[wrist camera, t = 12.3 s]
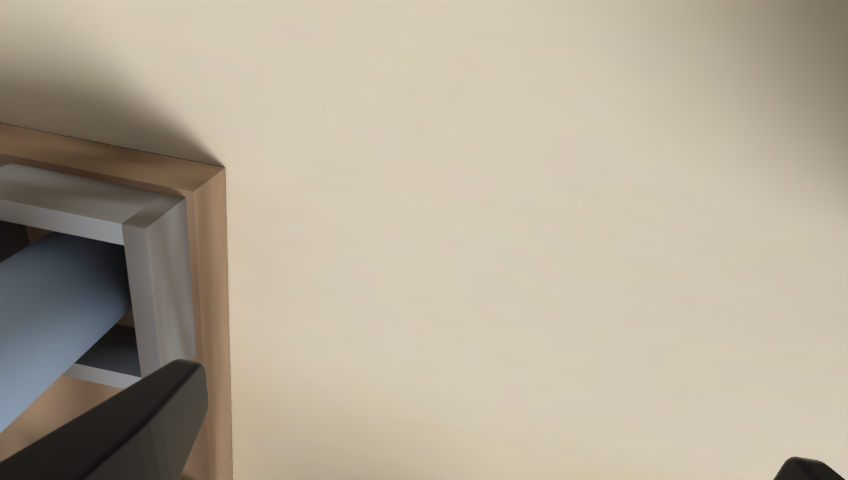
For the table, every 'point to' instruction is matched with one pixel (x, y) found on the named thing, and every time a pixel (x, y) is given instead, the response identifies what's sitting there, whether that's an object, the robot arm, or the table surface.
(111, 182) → the four-cup wooden tray
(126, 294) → the stool leg
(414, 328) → the table surface
